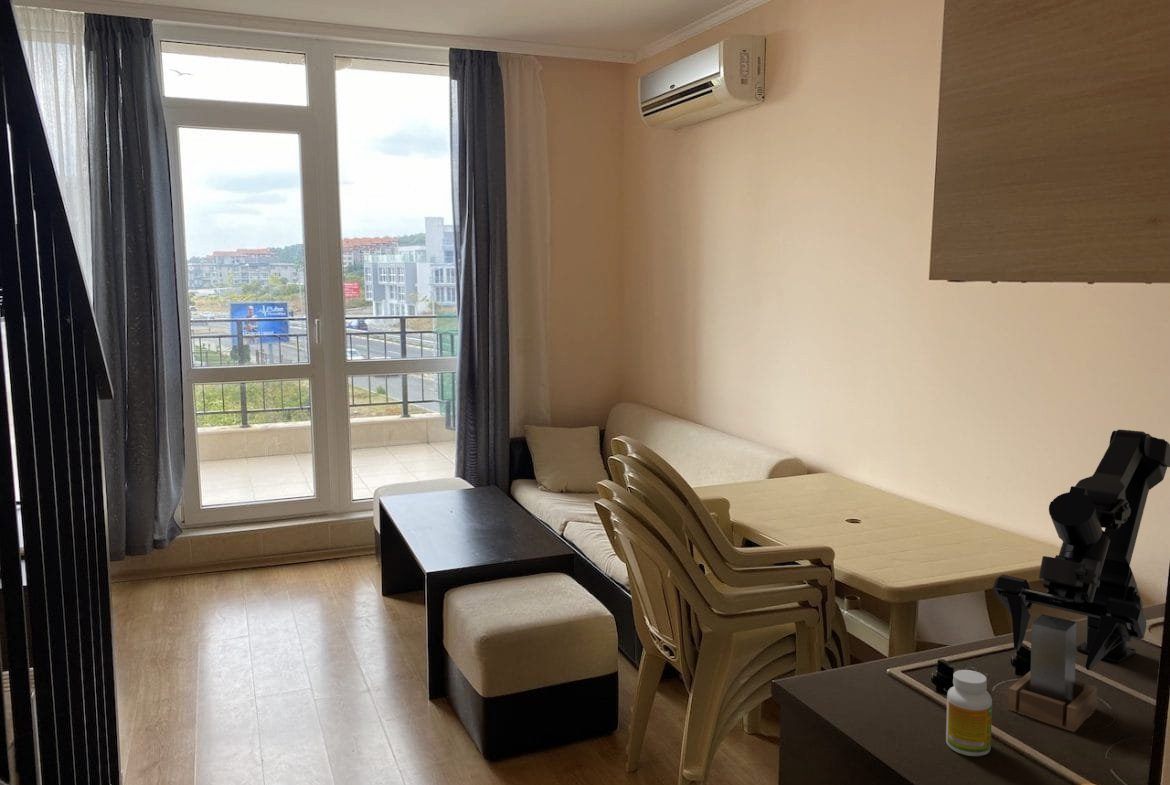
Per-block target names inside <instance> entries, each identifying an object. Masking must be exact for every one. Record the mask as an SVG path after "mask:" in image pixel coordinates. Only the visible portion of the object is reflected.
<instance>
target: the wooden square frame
mask: <svg viewBox="0 0 1170 785" xmlns="http://www.w3.org/2000/svg"><path fill="white" fill-rule="evenodd" d="M1030 677H1031V670H1029V671H1028V672H1026V674H1024V675H1023V676H1022V677H1021V678H1020V679H1018V680H1017V681H1015V683H1013V684H1012V685H1011V686H1009V688H1008V704H1007V710H1008V711H1009V710H1012V711H1014V712H1013V713H1015V712H1017V713H1016V714H1018V713H1019V715H1021V714H1022V716H1024V715H1026V716H1025V717H1027V716H1029V717H1028V718H1030V717H1031V718H1030V719H1033V718H1034V719H1033V720H1036V719H1037V721H1039V722H1042V723H1045V724H1048V725H1052V726H1055V727H1058V728H1060V729H1064V730H1066V731H1069V732H1073V733H1075V732H1076V731H1077V730H1078V729H1079V728H1080V727H1081V725H1083V724H1084V723H1085V722H1086V721H1087V720H1088V719H1089V718H1090V717H1091V716H1092V714H1094V712H1095V711H1096V710H1097V703H1098V702H1097V701H1098V687H1097V686H1094V685H1088V686H1086V683H1084V682H1081V681H1080V682H1079V681H1077V680H1075V699H1074V700H1073V701H1072V702H1071V703H1070V704H1069V705H1068V706H1067V716H1066V717H1065V710H1066V703H1065V702H1062V701H1059V700H1055V699H1052V698H1049V697H1046V696H1043V695H1039V694H1036V693H1033V692H1030ZM1095 709H1096V710H1095ZM1094 710H1095V711H1094ZM1012 711H1011V712H1012ZM1093 711H1094V712H1093ZM1091 713H1092V714H1091ZM1087 718H1088V719H1087ZM1086 719H1087V720H1086ZM1085 720H1086V721H1085ZM1084 721H1085V722H1084Z"/></svg>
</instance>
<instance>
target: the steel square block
mask: <svg viewBox="0 0 1170 785" xmlns="http://www.w3.org/2000/svg"><path fill="white" fill-rule="evenodd" d="M1030 628H1031V634H1030V636H1031V638H1030V671H1031V677H1030V692H1033V693H1036V694H1039V695H1043V696H1046V697H1049V698H1052V699H1055V700H1059V701H1062V702H1065V703H1066V710H1065V717H1066V716H1067V706H1068V705H1069V704H1070V703H1071V702H1072V701H1073V700H1074V699H1075V681H1076V660H1077V659H1076V654H1077V652H1076V651H1077V650H1076V646H1077V621H1074V620H1069V619H1065V618H1061V617H1057V616H1051V615H1047V614H1041V615H1040V616H1039V617H1037V618H1036V619H1035V620H1034V621H1033V622H1032V623H1031V627H1030Z"/></svg>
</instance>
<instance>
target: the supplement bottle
mask: <svg viewBox="0 0 1170 785" xmlns="http://www.w3.org/2000/svg"><path fill="white" fill-rule="evenodd" d="M952 676H953V679H952V684H953V686H951V687H949V689H948V690H947V693H946V719H945V720H946V721H945V722H946V725H945V726H946V727H945V742H946V745H947V747H949V749H951V750H952V751H954V752H956V753H957V754H960V755H962V756H968V757H982V756H986V755H988V754H989V753H990V751H991V749H992V748H991V747H992V720H993V714H992V713H993V699H992V696H991V693H989V692H988V691H987V690H988V689H987V687H988V686H987V685H988V683H987V682H988V679H987V676H986V675H984V674H982V673H981V672H979V671H975V670H970V669H959V670H956V671H955V672H953V675H952Z"/></svg>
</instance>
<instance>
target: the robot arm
mask: <svg viewBox="0 0 1170 785" xmlns="http://www.w3.org/2000/svg"><path fill="white" fill-rule="evenodd" d="M1110 434H1111V435H1110V439H1109V445H1108V447H1107V449H1106V451H1105V452H1104V455H1103V457H1102V458H1101V460H1100V461H1099V463H1098V465H1097V467H1096V469H1095V471H1094V473H1093V474H1092V475H1091V476H1088V477H1085V478H1082V479H1079V480H1078V482H1077V483H1076V484H1075V485H1074V486H1073V485H1071V486H1070V489H1069V492H1065V493H1061V494H1060V495H1057V496H1056V497H1055V498H1054V499H1053V500H1051V501H1050V502H1049V505H1048V513H1049V516H1050V519H1051V521H1052V523H1053V526H1054V528H1055V531H1056V534H1057V536H1058V538H1059V539H1060V540H1061V541H1062V544H1061V547H1060V550H1059V553H1058V555H1055V557H1051V556H1046V555H1045V556H1044V555H1043V556H1042V558H1041V564H1040V569H1039V575H1038V579H1040V580H1042V579H1043V580H1042V586H1043V587H1044V589H1047V591H1046V592H1044V591H1040V590H1035V589H1032V588H1031V587H1030V585H1029V583H1028V579H1025V578H1021V577H1020V578H1019V577H1017V576H1016V577H1015V576H1011V575H1006V574H1001V575H1000V576H998V577H997V578H996V579H995V580H994V583H993V586H992V590H993V592H994V593H995V596H996V597H997V600H998V601H999V603H1000V605H1001V606H1003V607H1005V608H1006V610H1007V611H1008V613H1009V614H1010V615H1011V623H1012V635H1013V636H1012V639H1013V648H1014V650H1015V651H1016V652H1019V651H1020V649H1021V648H1022V645H1023V642H1024V639H1025V635H1026V632H1027V628H1028V625H1029V622H1030V618H1031V614H1030V611H1029V610H1030V609H1032V606H1033V604H1034V605H1038V606H1041V607H1042V606H1043V607H1047V608H1051V609H1054V610H1055V609H1056V610H1061V611H1064V612H1069V613H1073V614H1077V615H1082V616H1086V633H1085V634H1086V635H1085V641H1084V642H1082V643H1080V644H1078V645H1076V651H1078V652H1082V653H1085V654H1088V655H1087V658H1086V663H1085V668H1086V669H1085V670H1087V671H1091V670H1092V669H1093V668H1094V667H1095V666H1096V665H1097V664H1098V663H1099V662H1100V661H1101V660H1102V659H1104V660H1107V661H1110V662H1112V663H1117V664H1118V663H1121V662H1122V661H1124V660H1126V659H1128V658H1129V657H1131V656H1133V655H1135V654H1136V653H1137V649H1135V648H1133V647H1129V646H1128V643H1130V642H1131V641H1132V639H1136V640H1137V639H1138V640H1143V639H1144V637H1145V633H1146V630H1147V619H1146V617H1145V615H1144V613H1145V612H1144V608H1143V607H1144V606H1143V604H1144V603H1143V601H1142V598H1141V594H1140V591H1139V588H1138V587H1137V586H1138V585H1137V581H1136V579H1135V576H1134V573H1133V570H1132V567H1131V561H1132V558H1133V554H1134V550H1135V546H1136V542H1137V540H1138V539H1137V537H1138V535H1139V530H1140V527H1141V522H1142V518H1143V515H1144V511H1145V508H1146V503H1147V498H1148V495H1149V492H1150V490H1151V489H1153V488H1154V487H1156V486H1157V485H1158V484H1159V483H1162V482H1163V481H1164V478H1165V475H1166V473H1167V470H1168V468H1170V443H1169V441H1166V440H1165V439H1164V438H1157V437H1154V436H1152V435H1151V434H1150V433H1146V432H1145V431H1143V430H1142V431H1140V430H1129V429H1117V430H1113V431H1112V432H1111V433H1110ZM1103 528H1104V530H1103Z"/></svg>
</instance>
